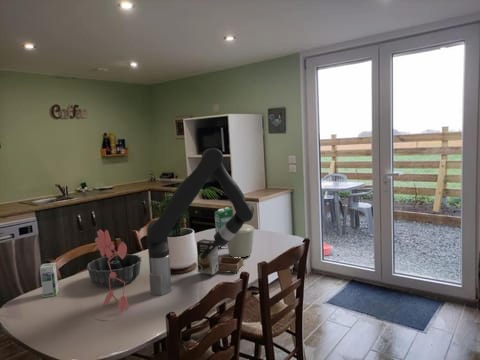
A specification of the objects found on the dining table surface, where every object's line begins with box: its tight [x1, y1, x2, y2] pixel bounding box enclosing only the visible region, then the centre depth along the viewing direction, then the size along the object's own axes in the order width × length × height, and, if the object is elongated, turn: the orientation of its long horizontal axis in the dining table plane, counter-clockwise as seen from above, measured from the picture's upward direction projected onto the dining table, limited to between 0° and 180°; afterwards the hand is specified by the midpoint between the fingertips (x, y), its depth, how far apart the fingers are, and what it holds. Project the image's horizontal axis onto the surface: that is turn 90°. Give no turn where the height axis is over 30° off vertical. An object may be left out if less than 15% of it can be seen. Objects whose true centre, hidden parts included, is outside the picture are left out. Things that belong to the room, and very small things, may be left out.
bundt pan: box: [86, 253, 142, 288], centre depth 184 cm, size 26×26×10 cm
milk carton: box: [214, 206, 234, 247], centre depth 234 cm, size 9×9×25 cm
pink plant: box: [92, 229, 131, 322], centre depth 149 cm, size 15×26×35 cm, turn 51°
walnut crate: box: [218, 256, 244, 273], centre depth 194 cm, size 10×13×4 cm
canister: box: [227, 223, 255, 258], centre depth 214 cm, size 18×18×21 cm
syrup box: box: [39, 262, 59, 298], centre depth 169 cm, size 6×6×14 cm
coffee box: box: [196, 238, 219, 275], centre depth 186 cm, size 9×6×16 cm
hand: (204, 255), depth 186 cm, fingers closed on coffee box, 7 cm apart
